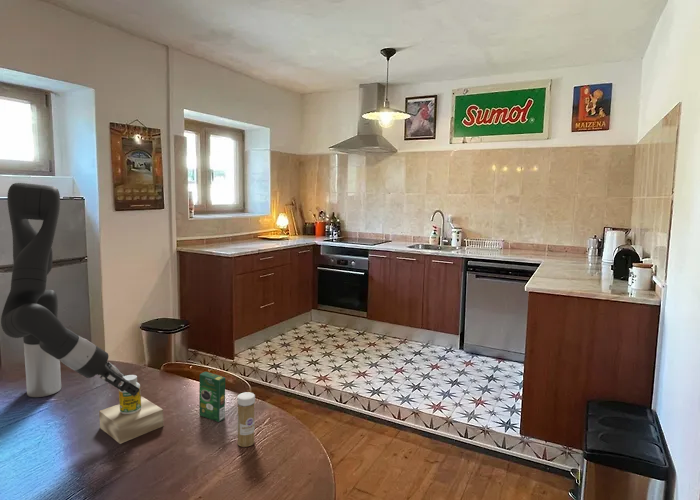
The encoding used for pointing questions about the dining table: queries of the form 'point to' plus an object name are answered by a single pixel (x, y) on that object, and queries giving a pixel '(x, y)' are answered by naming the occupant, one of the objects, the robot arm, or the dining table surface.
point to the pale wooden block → (131, 421)
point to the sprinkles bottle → (246, 419)
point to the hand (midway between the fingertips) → (132, 386)
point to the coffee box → (212, 396)
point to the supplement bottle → (130, 397)
